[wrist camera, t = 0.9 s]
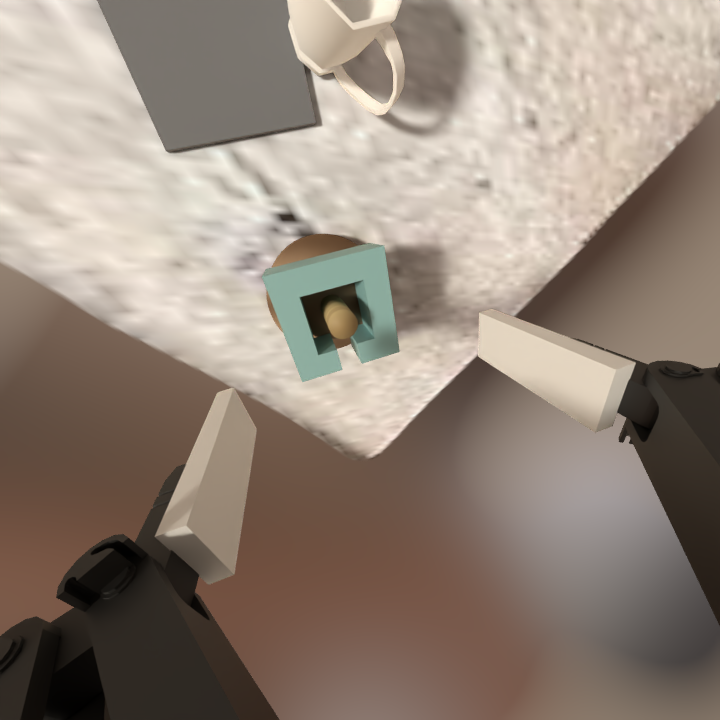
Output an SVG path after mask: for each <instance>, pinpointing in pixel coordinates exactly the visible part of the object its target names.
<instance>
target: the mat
mask: <svg viewBox="0 0 720 720" xmlns="http://www.w3.org/2000/svg"><path fill="white" fill-rule="evenodd" d="M97 1H98V3H99V5H100V8H101V10H102V12H103V14H104V16H105V19H106V21H107V23H108V25H109V27H110V29H111V32H112V34H113V36H114V38H115V40H116V43H117V45H118V47H119V49H120V51H121V54H122V56H123V58H124V60H125V62H126V65H127V67H128V69H129V71H130V73H131V75H132V78H133V80H134V82H135V84H136V86H137V89H138V91H139V93H140V95H141V97H142V100H143V102H144V104H145V106H146V108H147V110H148V113H149V115H150V117H151V119H152V121H153V124H154V126H155V128H156V130H157V132H158V135H159V137H160V139H161V141H162V143H163V145H164V148H165V150H166V151H167V152H173V151H178V150H184V149H189V148H194V147H200V146H205V145H210V144H215V143H221V142H226V141H231V140H237V139H242V138H247V137H252V136H258V135H263V134H268V133H274V132H279V131H284V130H289V129H295V128H300V127H305V126H311V125H315V124H316V120H315V116H314V111H313V106H312V102H311V97H310V93H309V88H308V84H307V79H306V75H305V70H304V65H303V63H302V62H301V61H300V60H299V59H298V57H297V54H296V51H295V47H294V44H293V41H292V38H291V34H290V31H289V28H288V23H289V19H290V15H289V10H288V3H287V0H97Z"/></svg>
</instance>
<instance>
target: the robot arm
mask: <svg viewBox="0 0 720 720" xmlns="http://www.w3.org/2000/svg"><path fill="white" fill-rule="evenodd" d="M478 357H480V358H481V359H483V360H484V361H486V362H488V363H489V364H491V365H492V366H494V367H495V368H497V369H498V370H500V371H501V372H503V373H504V374H506V375H507V376H509V377H511V378H512V379H514V380H515V381H517V382H518V383H520V384H521V385H523V386H525V387H526V388H527V389H529V390H530V391H532V392H534V393H535V394H537V395H538V396H540V397H541V398H543V399H544V400H546V401H548V402H549V403H550V404H552V405H554V406H555V407H557V408H558V409H560V410H561V411H563V412H564V413H566V414H567V415H569V416H570V417H572V418H574V419H575V420H577V421H578V422H580V423H581V424H583V425H584V426H586V427H587V428H589V429H590V430H592V431H594V432H598V431H601V430H603V429H606V428H608V427H611V426H613V423H614V421H615V418H616V415H617V413H619V414H621V415H623V416H625V417H626V421H625V423H624V426H623V428H622V431H621V433H620V436H619V442H622V443H623V442H624V440H625V437H626V436H630V438H631V439H630V442H629V443H630V444H633V445H634V447H635V449H636V451H637V453H638V455H639V457H640V459H641V461H642V463H643V466H644V468H645V470H646V472H647V474H648V476H649V478H650V480H651V482H652V485H653V487H654V489H655V491H656V493H657V495H658V497H659V499H660V501H661V503H662V506H663V507H664V510H665V512H666V514H667V516H668V518H669V520H670V522H671V524H672V526H673V528H674V531H675V533H676V535H677V537H678V539H679V541H680V543H681V545H682V547H683V550H684V552H685V554H686V556H687V558H688V560H689V562H690V564H691V567H692V569H693V571H694V573H695V575H696V577H697V579H698V581H699V583H700V585H701V588H702V590H703V592H704V594H705V596H706V598H707V600H708V602H709V604H710V607H711V609H712V611H713V613H714V615H715V617H716V619H717V621H718V623H719V625H720V363H719V365H718V367H714V368H705V369H701V368H698V367H696V366H693V365H691V364H686V363H682V362H675V361H656V362H652V363H650V364H649V365H648V364H645V363H642V362H640V361H637V360H634V359H632V358H629V357H626V356H623V355H621V354H618V353H615V352H612V351H610V350H607V349H606V350H604V348H601V347H599V346H593V344H591V343H588V342H585V341H582V340H579V339H574V338H569V337H566V336H563V335H561V334H558V333H555V332H553V331H550V330H547V329H545V328H542V327H539V326H537V325H534V324H531V323H529V322H526V321H523V320H521V319H518V318H515V317H513V316H510V315H507V314H505V313H502V312H499V311H497V310H494V309H489V310H486V311H483V312H480V313H479V350H478ZM256 431H257V429H256V427H255V425H254V423H253V422H252V420H251V418H250V416H249V415H248V412H247V411H246V409H245V407H244V405H243V404H242V401H241V400H240V398H239V396H238V394H237V392H236V391H235V389H234V388H231V389H227V390H224V391H221V392H218V393H217V395H216V397H215V400H214V402H213V404H212V406H211V409H210V411H209V413H208V416H207V418H206V420H205V422H204V425H203V427H202V429H201V432H200V434H199V436H198V438H197V441H196V443H195V445H194V448H193V450H192V452H191V455H190V457H189V459H188V462H187V464H184V465H181V466H178V467H176V468H175V470H174V471H173V472H172V473H171V475H170V476H169V477H168V478H167V479H166V480H165V482H164V485H163V486H162V488H161V490H160V492H159V497H157V498H156V500H155V502H154V504H153V509H151V511H150V513H149V515H148V517H147V519H146V521H145V523H144V525H143V527H142V529H141V531H140V533H139V535H138V537H137V539H136V541H135V543H134V542H133V541H132V540H130V539H129V538H128V537H127V536H125V535H124V534H121V535H113V536H111V537H109V538H107V539H104V540H102V541H101V542H99V543H98V544H96V545H95V546H93V547H92V548H90V549H89V550H88V551H87V552H86V553H85V554H84V555H82V556H81V557H80V558H79V559H78V560H77V561H76V562H75V563H74V565H73V566H72V567H71V568H70V569H69V571H68V572H67V573H66V574H65V576H64V578H63V580H62V581H61V583H60V585H59V586H58V591H57V597H56V598H58V599H60V600H62V601H64V602H66V603H67V604H69V605H71V606H73V607H74V608H72V609H71V610H69V611H68V612H66V613H65V614H63V615H62V616H60V617H59V618H57V619H56V620H54V621H52V622H51V623H50V622H47V621H45V620H43V619H41V618H39V617H33V618H29V619H25V620H23V621H22V622H20V623H18V624H16V625H15V626H13V627H11V628H10V629H9V630H7V631H6V632H5V633H4V634H2V635H1V636H0V720H279V718H278V717H277V715H276V714H275V712H274V710H273V709H272V707H271V706H270V704H269V703H268V701H267V700H266V698H265V696H264V695H263V693H262V692H261V690H260V689H259V687H258V686H257V684H256V683H255V681H254V679H253V678H252V676H251V675H250V673H249V672H248V670H247V669H246V667H245V665H244V664H243V662H242V661H241V659H240V658H239V656H238V655H237V653H236V651H235V650H234V648H233V647H232V645H231V644H230V642H229V641H228V639H227V638H226V636H225V634H224V633H223V631H222V630H221V628H220V627H219V625H218V624H217V622H216V621H215V619H214V617H213V616H212V614H211V613H210V611H209V610H208V608H207V607H206V605H205V604H204V602H203V601H202V599H201V597H200V596H199V595H198V594H197V593H195V589H196V585H197V581H198V577H200V578H202V579H203V580H204V581H205V582H206V583H207V584H212V583H214V582H217V581H219V580H222V579H224V578H227V577H229V576H231V575H234V573H235V566H236V560H237V553H238V547H239V540H240V533H241V528H242V521H243V514H244V508H245V502H246V496H247V489H248V483H249V476H250V469H251V463H252V456H253V451H254V444H255V437H256Z"/></svg>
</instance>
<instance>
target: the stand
mask: <svg viewBox="0 0 720 720" xmlns="http://www.w3.org/2000/svg"><path fill="white" fill-rule="evenodd" d="M356 246H358V245H357V244H355V243H353V242H352V241H350V240H348V239H345V238H343V237H340V236H336V235H329V234H315V235H309V236H306V237H303V238H300V239H298V240H296V241H294V242H293V243H291V244H290V245H288V246H287V247H286V248H285V249H284V250H283V251H282V252H281V253H280V255H279V256H278V257H277V259H276V260H275V262H274V264H273V266H272V268H273V267H277V266H280V265H284V264H288V263H292V262H296V261H300V260H304V259H308V258H312V257H316V256H320V255H324V254H328V253H332V252H336V251H340V250H344V249H348V248H352V247H356ZM301 299H302V302H303V305H304V309H305V312H306V315H307V318H308V321H309V324H310V327H311V330H312V333H313V336H314V338H316V337H319V336H322V335H326V334H329V333H330V335H331V337H332V339H333V342H334V344H335V347H336V349H337V348H341V347H344V346H347V345H349V344H351V340H350V337H351V336H352V335H354V334H355V332H356V330H357V327H358V325H360V324H363V321H362V317H361V312H360V307H359V303H358V298H357V293H356V289H355V284H354V283H350V284H347V285H343V286H339V287H336V288H332V289H328V290H324V291H321V292H317V293H313V294H310V295H306V296H302V297H301ZM267 302H268V307H269V310H270V313H271V315H272V317H273V320H274V321H275V323H276V324H277V326H278V327H279V328H280V330H281V331H282V332H283V330H282V328H281V325H280V323H279V320H278V317H277V315H276V312H275V310H274V307H273V304H272V302H271V299H270V297H269V294H268V291H267Z"/></svg>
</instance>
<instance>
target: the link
mask: <svg viewBox="0 0 720 720" xmlns="http://www.w3.org/2000/svg"><path fill="white" fill-rule="evenodd" d="M262 278H263V281H264V284H265V286H266V289H267V291H268V294H269V297H270V299H271V302H272V304H273V307H274V310H275V312H276V315H277V317H278V320H279V323H280V325H281V328H282V330H283V333H284V336H285V338H286V341H287V343H288V346H289V349H290V351H291V354H292V356H293V359H294V362H295V364H296V367H297V369H298V372H299V375H300V377H301V380H302V382H304V381H308V380H311V379H314V378H317V377H321V376H324V375H327V374H330V373H333V372H337V371H340V370H342V366H341V363H340V359H339V356H338V352H337V349H336V347H335V344H334V342H333V339H332V337H331V335H330V333H329V334H326V335H322V336H319V337H316V338H314V336H313V333H312V330H311V327H310V324H309V321H308V318H307V315H306V312H305V309H304V305H303V302H302V299H301V297H302V296H306V295H310V294H313V293H317V292H321V291H324V290H328V289H332V288H336V287H339V286H343V285H347V284H350V283H354V284H355V289H356V293H357V298H358V303H359V307H360V312H361V317H362V321H363V324H360V325H358V327H357V330H356V332H355V334H354V335H352V336H351V337H350V340H351V344H352V347H353V349H354V351H355V352H356V354H357V356H358V358H359V359H360V361H361V363H365V362H369V361H372V360H375V359H378V358H381V357H385V356H388V355H391V354H394V353H397V352H400V351H399V344H398V338H397V331H396V324H395V317H394V310H393V303H392V296H391V289H390V283H389V276H388V269H387V262H386V255H385V248H384V245H378V244H372V243H367V244H363V245H360V246H356V247H352V248H348V249H344V250H340V251H336V252H332V253H328V254H324V255H320V256H316V257H312V258H308V259H304V260H300V261H296V262H292V263H288V264H284V265H280V266H277V267H273V268H269V269H266V270H265V272H264V274H263V276H262Z"/></svg>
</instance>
